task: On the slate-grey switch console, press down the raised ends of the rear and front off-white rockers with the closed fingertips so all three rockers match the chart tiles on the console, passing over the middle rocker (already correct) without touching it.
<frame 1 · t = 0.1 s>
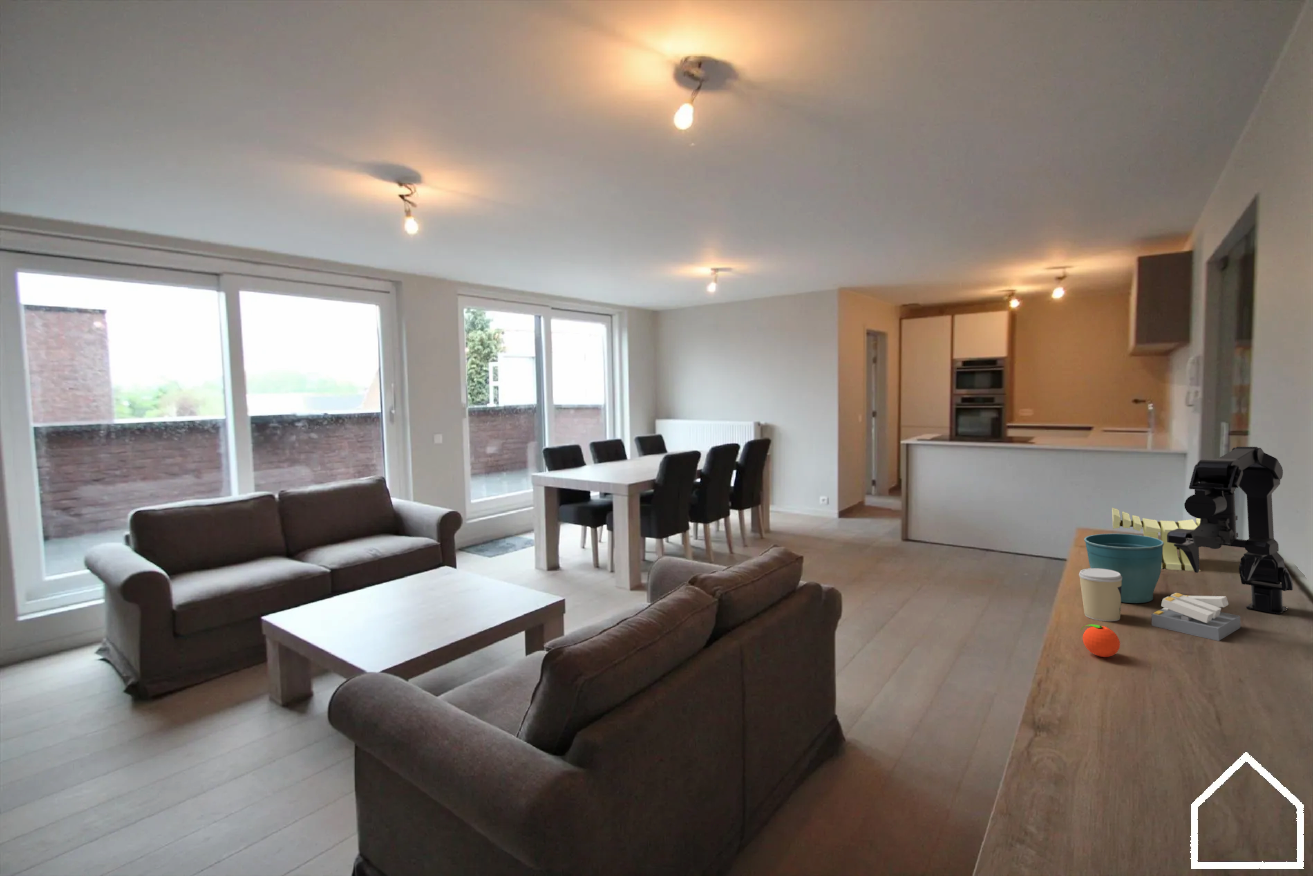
hand: (1221, 576, 142), 15 cm above the table, fingers open, 9 cm apart
coffee cup: (1102, 617, 159), on the table
console: (1195, 626, 148), on the table
flower pot: (1125, 598, 172), on the table
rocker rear: (1202, 600, 150), point 6 cm above the table, hinge at 12.0°
rocker middle: (1194, 604, 148), point 6 cm above the table, hinge at -12.0°
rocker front: (1186, 609, 146), point 6 cm above the table, hinge at -12.0°
clementine: (1099, 655, 137), on the table
slatted curved stool: (1171, 564, 199), on the table
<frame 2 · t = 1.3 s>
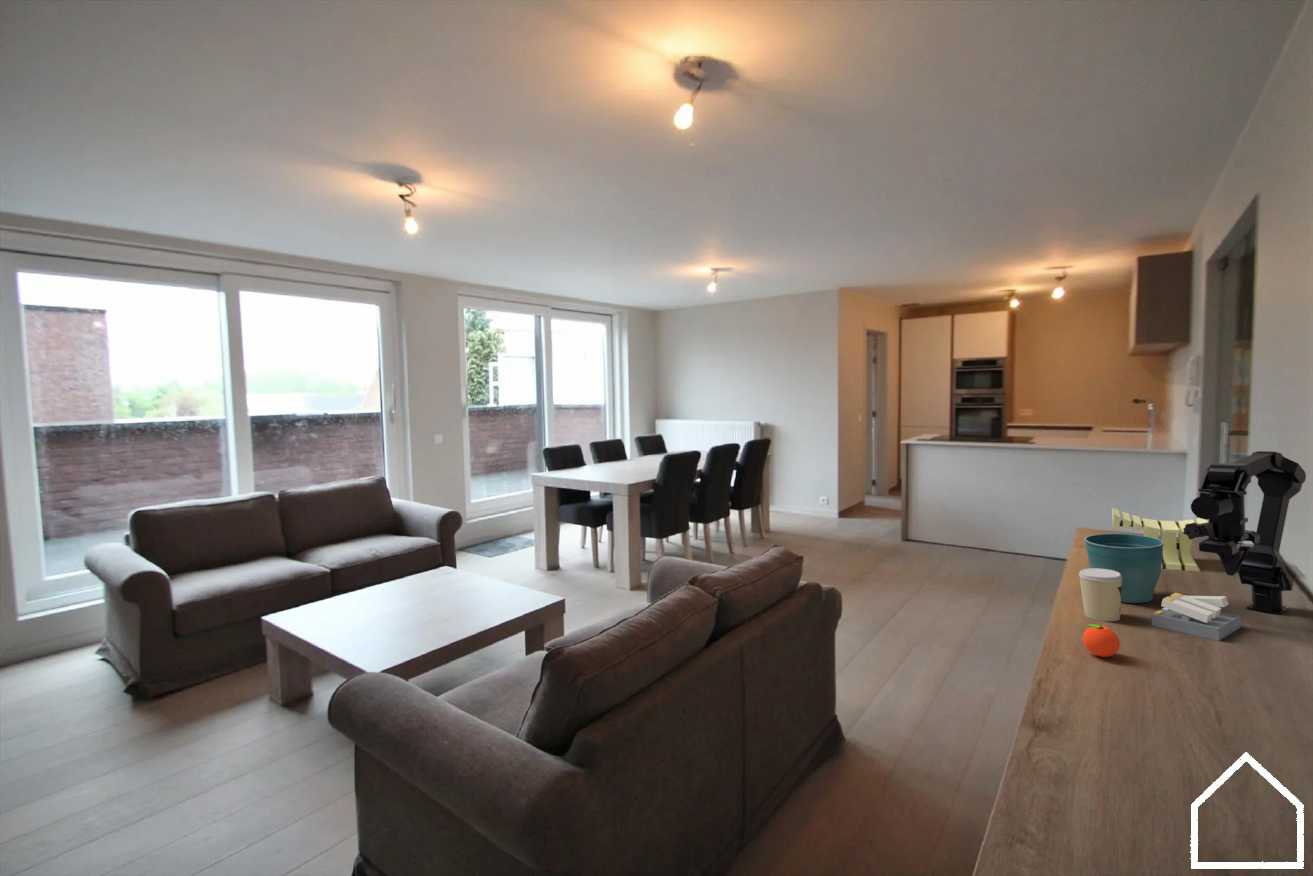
hand: (1230, 575, 149), 12 cm above the table, fingers closed
nothing on the table moved.
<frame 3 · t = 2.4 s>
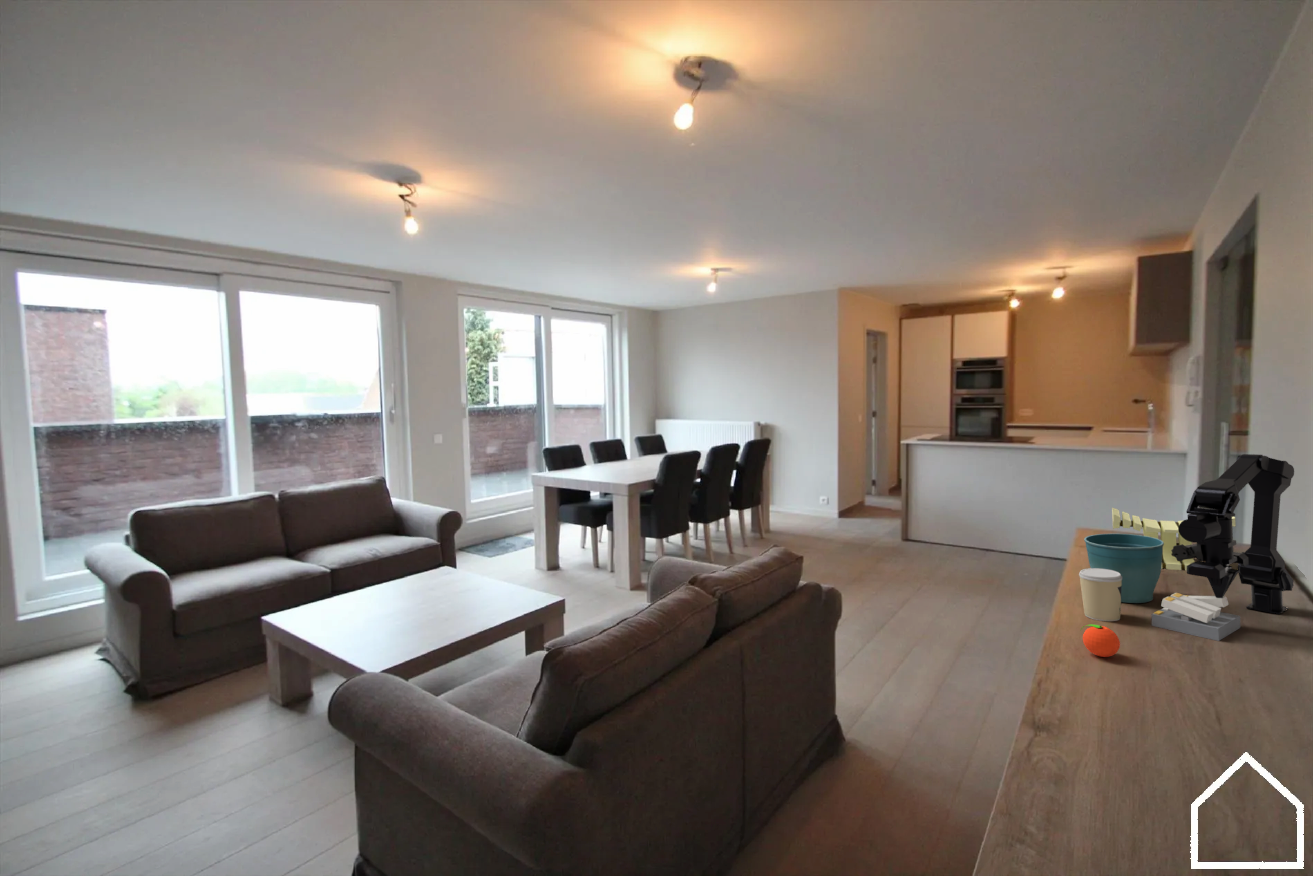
hand: (1219, 597, 147), 7 cm above the table, fingers closed, pressing on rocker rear
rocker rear: (1202, 600, 150), point 6 cm above the table, hinge at 12.0°, touching gripper
everything else where it was.
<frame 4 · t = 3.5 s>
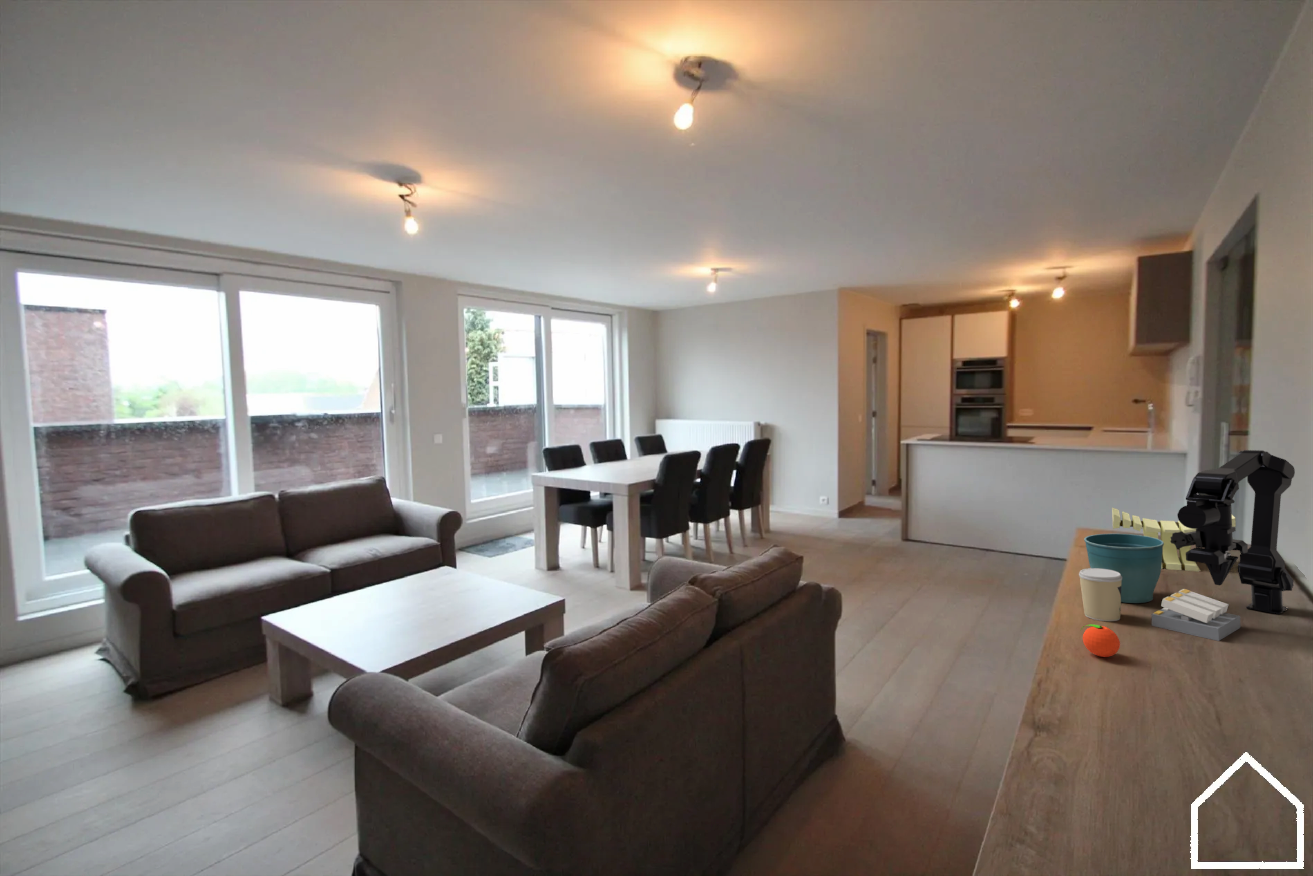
hand: (1218, 584, 147), 11 cm above the table, fingers closed
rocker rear: (1202, 601, 150), point 6 cm above the table, hinge at -12.4°
everything else where it was.
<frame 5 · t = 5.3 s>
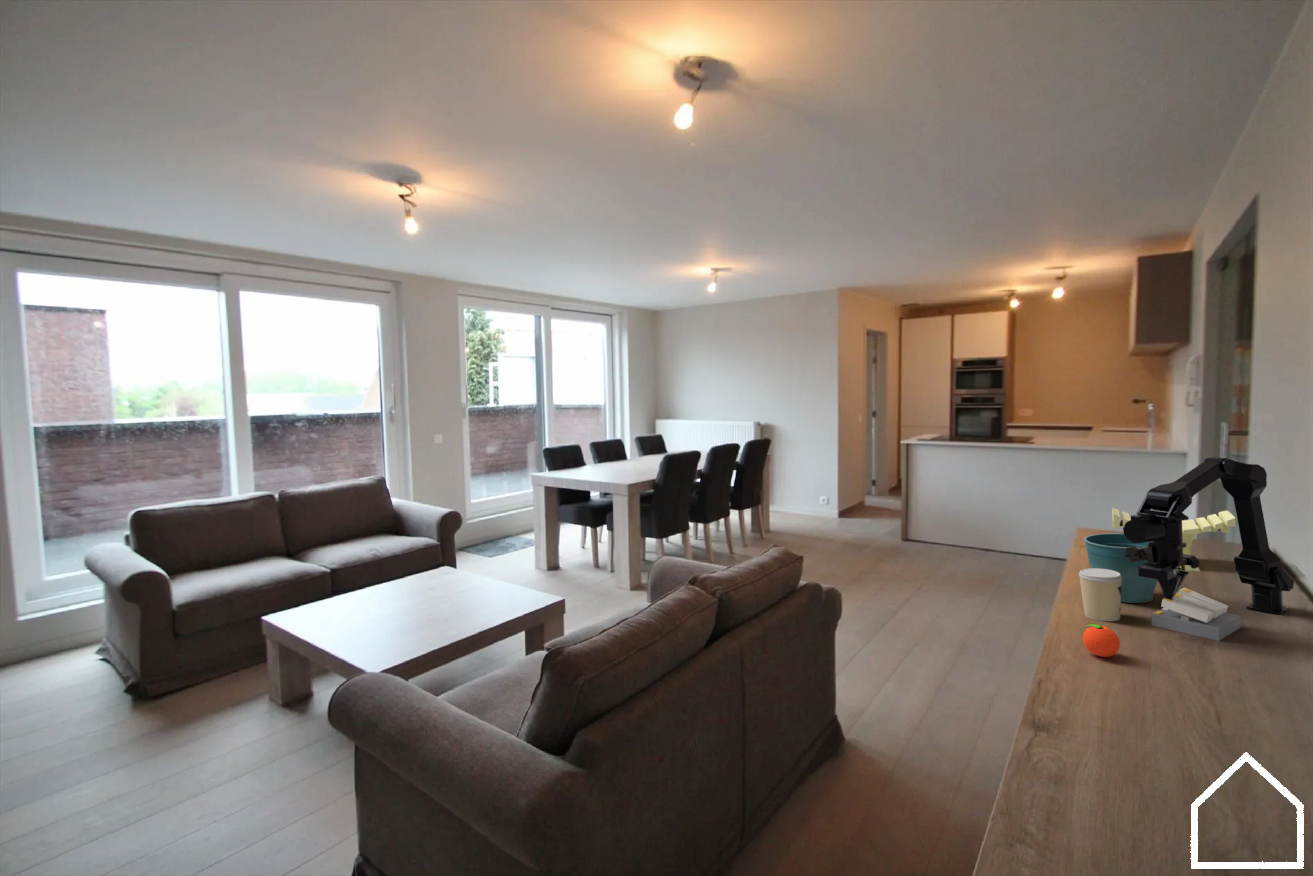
hand: (1169, 599, 149), 7 cm above the table, fingers closed, pressing on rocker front
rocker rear: (1202, 601, 150), point 6 cm above the table, hinge at -17.4°
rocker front: (1186, 609, 146), point 6 cm above the table, hinge at -10.8°, touching gripper
everything else where it was.
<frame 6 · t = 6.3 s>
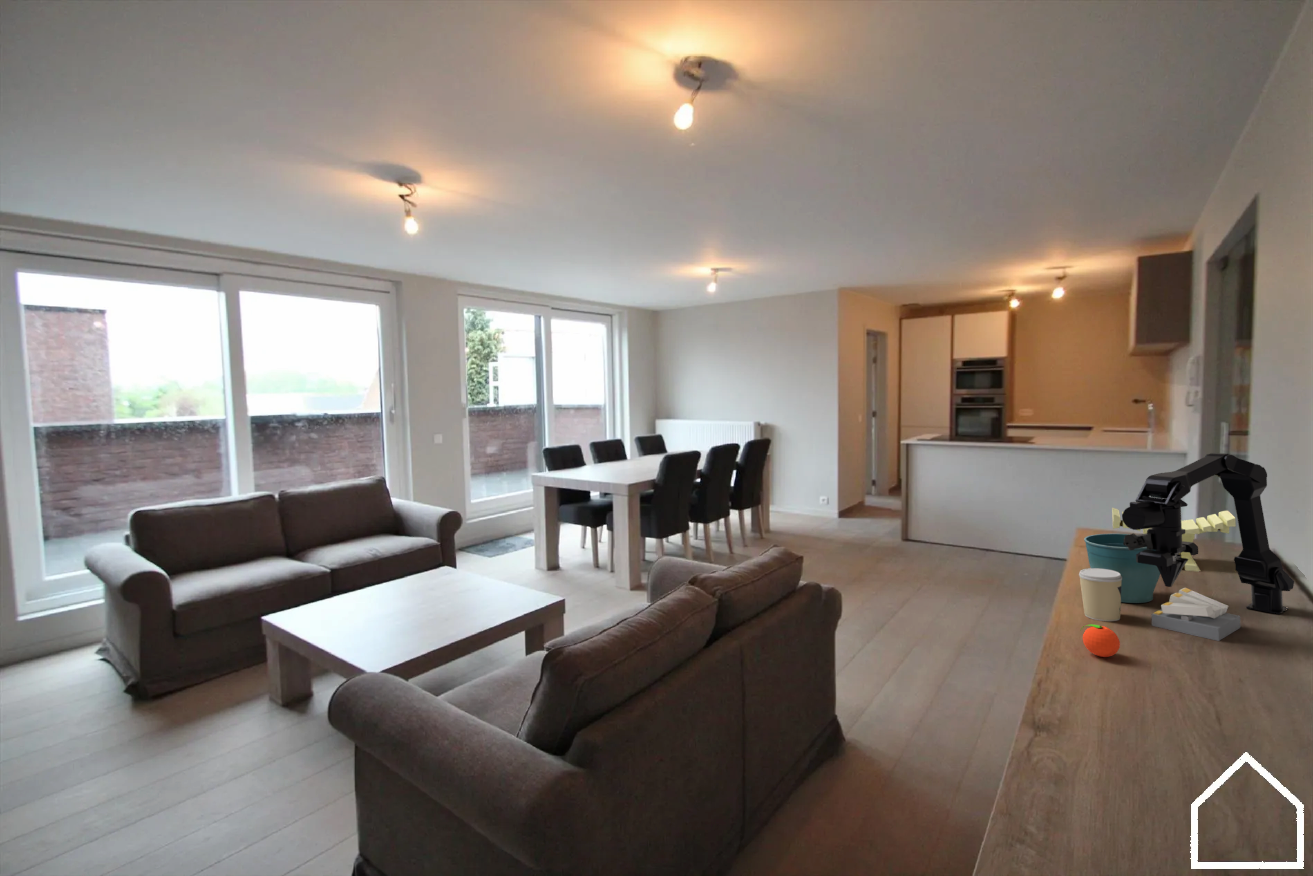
hand: (1168, 586, 149), 11 cm above the table, fingers closed
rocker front: (1186, 609, 146), point 6 cm above the table, hinge at 9.7°
everything else where it was.
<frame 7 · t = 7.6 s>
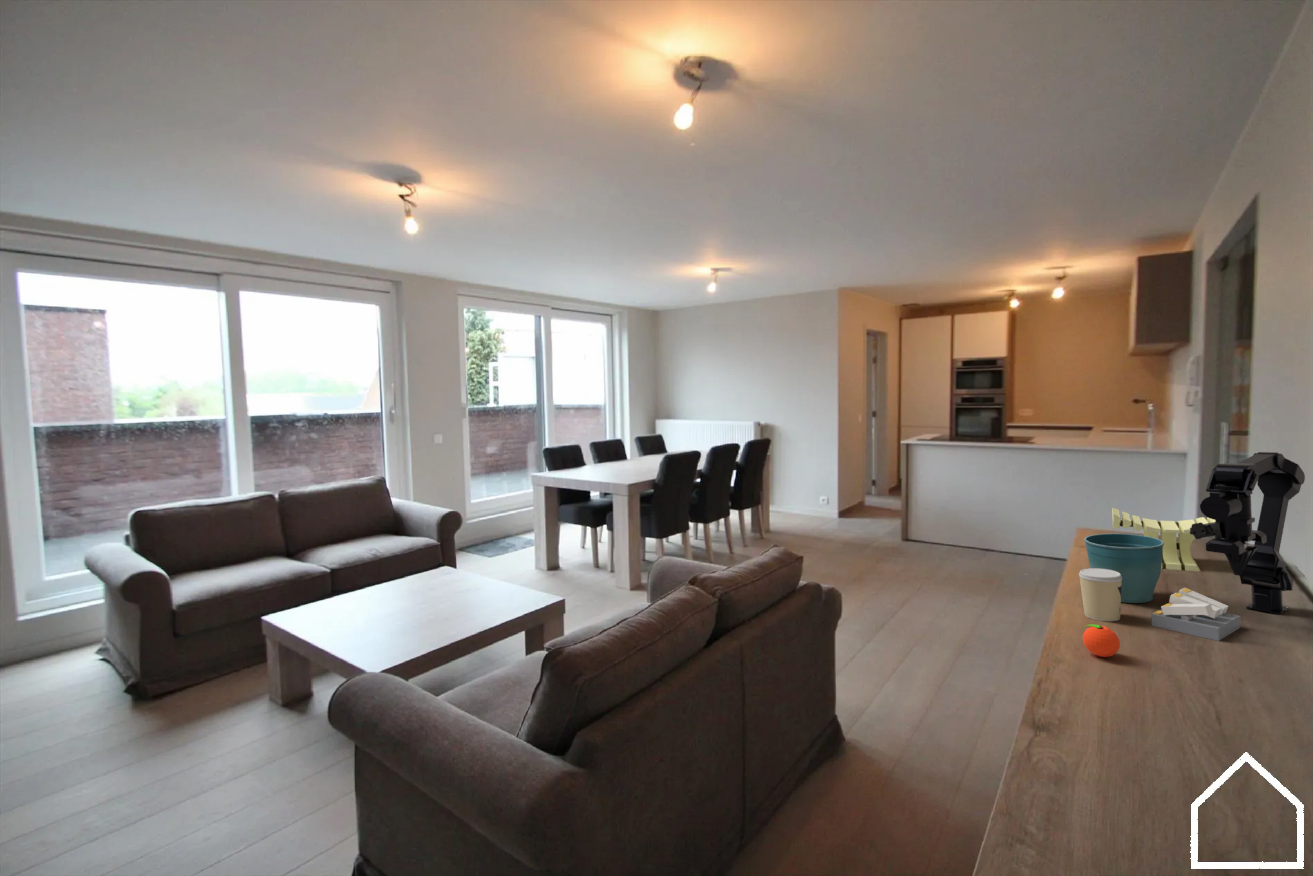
hand: (1237, 575, 149), 12 cm above the table, fingers closed
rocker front: (1186, 609, 146), point 6 cm above the table, hinge at 14.6°
everything else where it was.
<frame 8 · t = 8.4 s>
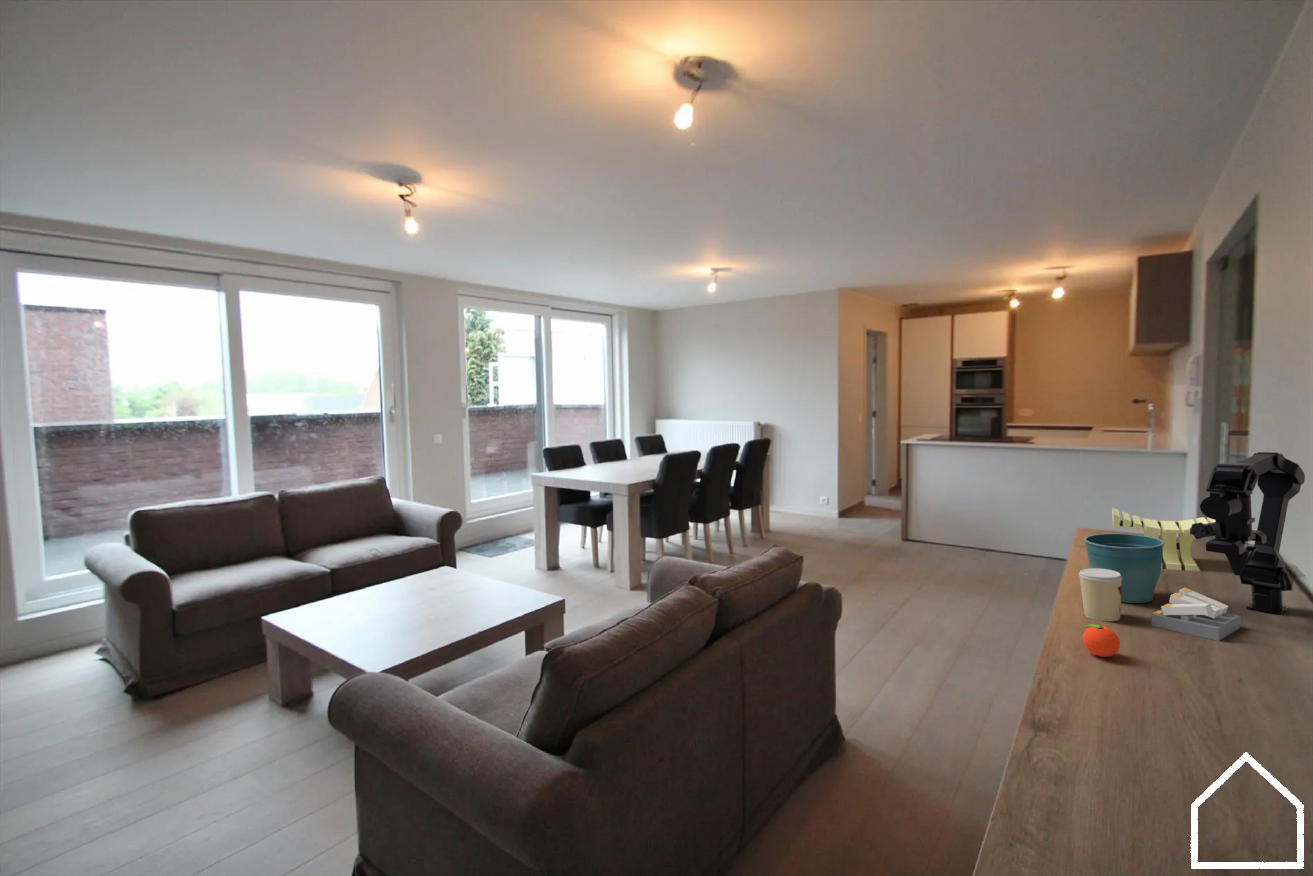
hand: (1237, 575, 149), 12 cm above the table, fingers closed
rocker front: (1186, 609, 146), point 6 cm above the table, hinge at 15.1°
everything else where it was.
at the end: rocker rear at -18° (first picture: +12°); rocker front at +15° (first picture: -12°); rocker middle at -12° (first picture: -12°) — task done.
